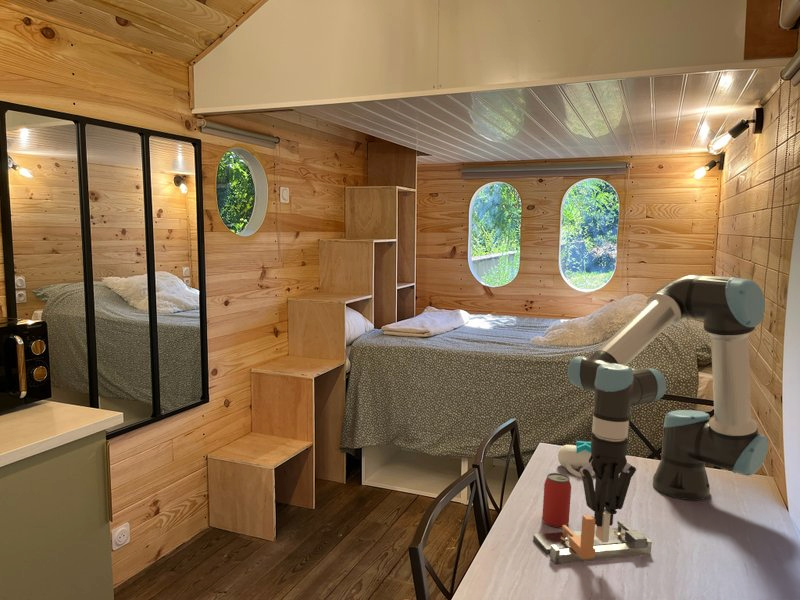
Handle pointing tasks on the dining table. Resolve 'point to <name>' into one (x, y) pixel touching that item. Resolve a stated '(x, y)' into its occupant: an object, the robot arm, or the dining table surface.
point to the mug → (575, 456)
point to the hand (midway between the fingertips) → (602, 539)
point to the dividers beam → (608, 548)
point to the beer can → (556, 500)
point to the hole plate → (563, 542)
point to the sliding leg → (583, 538)
